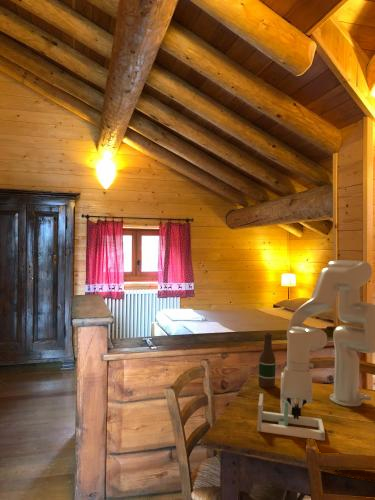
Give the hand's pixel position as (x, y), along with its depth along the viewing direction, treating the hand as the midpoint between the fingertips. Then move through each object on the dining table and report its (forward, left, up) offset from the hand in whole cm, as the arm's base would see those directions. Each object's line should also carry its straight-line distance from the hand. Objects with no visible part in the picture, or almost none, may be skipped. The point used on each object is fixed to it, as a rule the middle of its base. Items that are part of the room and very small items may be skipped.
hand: (296, 417), depth 134 cm
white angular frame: (+2, 0, -4) cm, 5 cm away
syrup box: (+2, -14, -4) cm, 15 cm away
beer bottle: (+11, -41, -4) cm, 43 cm away
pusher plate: (+4, 0, -4) cm, 6 cm away
